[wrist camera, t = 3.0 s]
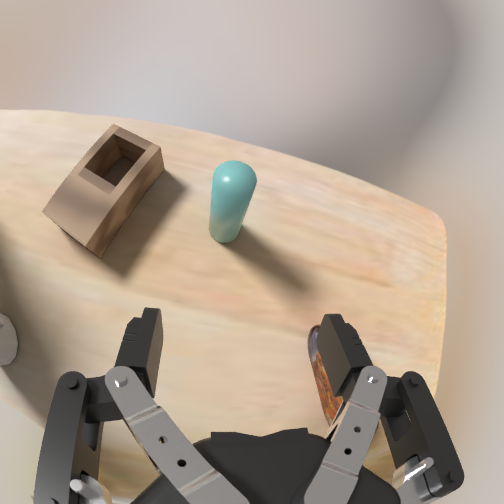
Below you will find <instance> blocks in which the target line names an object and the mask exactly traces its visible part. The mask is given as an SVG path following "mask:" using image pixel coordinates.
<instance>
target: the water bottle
mask: <svg viewBox="0 0 504 504" xmlns="http://www.w3.org/2000/svg"><path fill="white" fill-rule="evenodd" d="M17 347H18V340H17V336H16V331H15V328H14V326H13V325H12V323H11V321H10V319H9V318H8V317H6V316H5V315H3V314H2V313H0V366H1V365H10V363H11V362H12V361H13V359H14V358H15V357H16V353H17Z"/></svg>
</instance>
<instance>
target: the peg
mask: <svg viewBox="0 0 504 504" xmlns="http://www.w3.org/2000/svg"><path fill="white" fill-rule="evenodd" d="M256 183H257V179H256V175H255V172H254V171H253V169H252V168H251V167H250V166H248V165H247V164H245V163H243V162H240V161H227V162H224V163H222V164H221V165H219V166H218V167H217V168H216V170H215V171H214V174H213V182H212V195H211V209H210V224H209V231H210V234H211V236H212V238H213V239H214V240H216V241H218V242H220V243H229V242H231V241H233V240H234V239H236V237H237V236H238V234H239V231H240V228H241V225H242V222H243V220H244V217H245V214H246V211H247V208H248V206H249V203H250V200H251V197H252V195H253V192H254V189H255V186H256Z"/></svg>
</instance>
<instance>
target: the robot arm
mask: <svg viewBox="0 0 504 504" xmlns="http://www.w3.org/2000/svg"><path fill="white" fill-rule="evenodd" d="M316 344H317V348H318V351H319V354H320V357H321V360H322V363H323V365H324V368H325V371H326V374H327V377H328V380H329V383H330V386H331V389H332V392H333V395H334V397H339V396H342V397H343V401H342V403H341V405H340V407H339V409H338V411H337V414H336V416H335V418H334V420H333V422H332V424H331V426H330V428H329V430H328V431H327V433H326V435H325V436H324V438H323V437H321V436H318V435H314V434H308V430H307V428H299V429H289V430H283V431H279V432H276V433H273V434H270V435H266V436H262V437H259V436H253V435H247V434H242V433H237V432H211V438H207V439H203V440H200V441H198V442H196V443H194V444H191V443H190V442H189V440H188V439H187V438H186V437H185V436H184V434H183V433H182V432H181V431H180V430H179V428H178V427H177V426H176V425H175V423H174V422H173V421H172V419H171V418H170V417H169V416H168V414H167V413H166V412H165V410H164V409H163V408H162V407H161V406H158V405H157V404H156V403H155V401H154V400H153V399H152V398H154V396H155V389H156V382H157V375H158V369H159V363H160V357H161V351H162V345H163V327H162V318H161V310H160V309H158V308H144V311H143V314H142V318H136V317H134V318H133V319H132V320H131V321H130V322H129V323H128V324H127V327H126V330H125V334H124V337H123V341H122V343H121V346H120V350H119V353H118V356H117V360H116V363H115V366H114V368H112V369H110V370H109V371H108V372H107V374H106V375H104V376H101V377H95V378H85V377H84V375H82V374H81V373H79V372H76V371H71V372H67V373H65V374H63V375H62V376H61V377H60V379H59V381H58V384H57V387H56V390H55V394H54V397H53V401H52V404H51V408H50V412H49V416H48V420H47V424H46V428H45V432H44V437H43V441H42V446H41V451H40V457H39V462H38V469H37V475H36V482H35V490H34V501H33V502H34V504H112V500H111V495H110V493H109V491H108V490H107V489H106V488H105V487H104V486H103V485H102V484H100V483H99V482H98V469H99V458H100V448H101V440H102V432H103V425H104V422H105V421H113V420H121V419H123V421H124V422H125V424H126V426H127V427H128V429H129V430H130V432H131V433H132V435H133V437H134V438H135V440H136V441H137V443H138V444H139V446H140V447H141V449H142V450H143V452H144V453H145V455H146V456H147V458H148V459H149V461H150V462H151V463H152V465H153V466H154V467H155V469H156V470H157V471H158V473H159V474H160V476H159V477H158V478H157V479H156V480H155V481H154V482H153V483H152V484H151V485H150V486H149V487H147V488H146V489H145V490H144V491H143V492H142V493H141V494H140V495H139V496H138V497H137V498H136V499H135V500H134V501H133V502H131V503H130V504H429V503H431V502H433V501H436V500H438V499H439V498H442V497H443V496H445V495H447V494H449V493H451V492H453V491H455V490H456V489H458V488H459V487H460V486H461V485H462V483H463V481H464V472H463V469H462V466H461V463H460V461H459V458H458V455H457V453H456V451H455V448H454V445H453V443H452V440H451V438H450V436H449V433H448V431H447V428H446V426H445V424H444V421H443V419H442V417H441V415H440V412H439V410H438V408H437V406H436V404H435V401H434V399H433V397H432V395H431V393H430V391H429V389H428V387H427V385H426V383H425V380H424V379H423V377H422V376H421V375H420V374H418V373H416V372H413V371H409V372H406V373H404V374H403V376H402V377H401V378H398V377H390V376H386V374H385V372H384V371H383V370H382V369H380V368H378V367H376V366H373V364H372V362H371V360H370V358H369V355H368V353H367V351H366V349H365V347H364V345H362V341H361V339H359V335H358V333H357V331H356V330H355V329H354V328H353V327H352V326H351V325H350V324H349V323H345V322H344V320H343V318H342V316H341V314H325V315H324V317H323V320H322V323H321V326H320V329H319V331H318V334H317V339H316ZM406 411H407V412H406ZM407 413H408V415H407ZM408 416H409V417H408ZM379 418H380V419H381V422H382V425H383V428H384V431H385V434H386V437H387V441H388V444H389V447H390V450H391V453H392V457H393V460H394V463H395V467H396V470H395V472H394V474H393V480H392V483H391V485H390V484H389V483H387V482H386V481H384V480H383V479H381V478H380V477H378V476H377V475H375V474H374V473H373V472H371V471H370V470H368V469H367V468H365V467H364V466H363V465H362V464H363V461H364V459H365V456H366V454H367V451H368V449H369V446H370V444H371V441H372V438H373V436H374V433H375V430H376V427H377V424H378V421H379ZM409 419H410V420H409ZM410 421H411V422H410Z"/></svg>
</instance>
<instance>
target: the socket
mask: <svg viewBox="0 0 504 504" xmlns="http://www.w3.org/2000/svg"><path fill="white" fill-rule="evenodd" d="M121 155H122V156H124V157H126V158H128V159H129V160H131V161H133V162H135V164H134V165H133V166H132V168H131V169H130V170H129V171H128V172H127V174H126V175H125V176H124V177H123V179H122V180H121V181H120V182H119V184H118V185H117V186H114V185H112V184H111V183H109V182H107V181H106V180H104V179H102V178H103V177H104V176H105V175H106V173H107V172H108V171H109V170H110V168H111V167H112V166H113V165H114V164H115V162H116V161H117V160H118V159H119V158H120V157H121ZM163 170H164V164H163V158H162V153H161V148H160V147H159V146H157V145H155V144H153V143H151V142H149V141H147V140H145V139H143V138H141V137H139V136H137V135H135V134H133V133H131V132H129V131H127V130H125V129H123V128H121V127H119V126H117V125H115V124H113V125H112V126H111V127H110V128H109V129H108V130H107V131H106V132H105V133H104V134H103V135H102V136H101V137H100V138H99V139H98V141H97V142H96V143H95V144H94V145H93V146H92V147H91V148H90V150H89V151H88V152H87V153H86V154H85V155H84V157H83V158H82V159H81V160H80V161H79V163H78V164H77V165H76V166H75V167H74V169H73V170H72V171H71V172H70V174H69V175H68V176H67V178H66V179H65V180H64V181H63V183H62V184H61V185H60V187H59V188H58V189H57V191H56V192H55V194H54V195H53V196H52V198H51V199H50V201H49V202H48V203H47V205H46V206H45V208H44V209H43V211H42V212H43V213H44V214H45V215H46V216H47V217H48V218H50V219H51V220H52V221H53V222H54V223H55V224H57V225H58V226H59V227H60V228H62V229H63V230H64V231H65V232H67V233H68V234H69V235H70V236H72V237H73V238H74V239H76V240H77V241H78V242H80V243H81V244H82V245H83V246H85V247H86V248H87V249H89V250H90V251H91V252H93V253H94V254H96V255H97V256H98V257H100V258H101V256H102V255H103V253H104V252H105V250H106V249H107V247H108V246H109V244H110V243H111V241H112V240H113V238H114V237H115V235H116V234H117V232H118V231H119V229H120V228H121V226H122V225H123V224H124V222H125V221H126V219H127V218H128V216H129V215H130V214H131V212H132V211H133V210H134V208H135V207H136V205H137V204H138V203H139V201H140V200H141V199H142V197H143V196H144V195H145V193H146V192H147V191H148V189H149V188H150V187H151V186H152V184H153V183H154V182H155V180H156V179H157V178H158V177H159V175H160V174H161V173H162V172H163Z"/></svg>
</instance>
